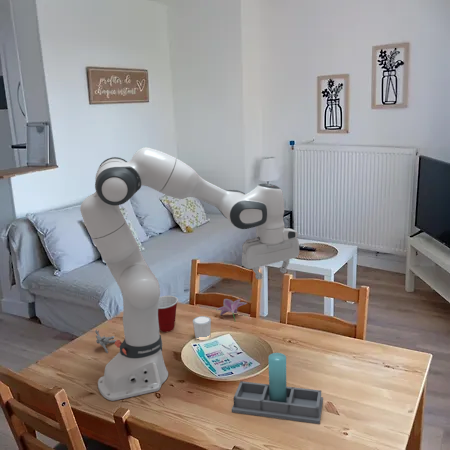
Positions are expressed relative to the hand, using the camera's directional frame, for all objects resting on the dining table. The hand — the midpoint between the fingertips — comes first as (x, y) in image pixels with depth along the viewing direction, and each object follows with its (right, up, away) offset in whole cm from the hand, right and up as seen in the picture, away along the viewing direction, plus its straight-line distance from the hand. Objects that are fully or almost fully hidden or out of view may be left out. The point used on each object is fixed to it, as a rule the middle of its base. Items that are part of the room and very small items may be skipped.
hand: (271, 275), depth 160 cm
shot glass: (-23, -26, +27) cm, 44 cm away
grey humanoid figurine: (-59, -29, +23) cm, 70 cm away
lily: (-12, -22, +42) cm, 49 cm away
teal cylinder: (0, -36, -16) cm, 39 cm away
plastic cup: (-38, -25, +35) cm, 57 cm away
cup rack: (0, -37, -16) cm, 40 cm away
